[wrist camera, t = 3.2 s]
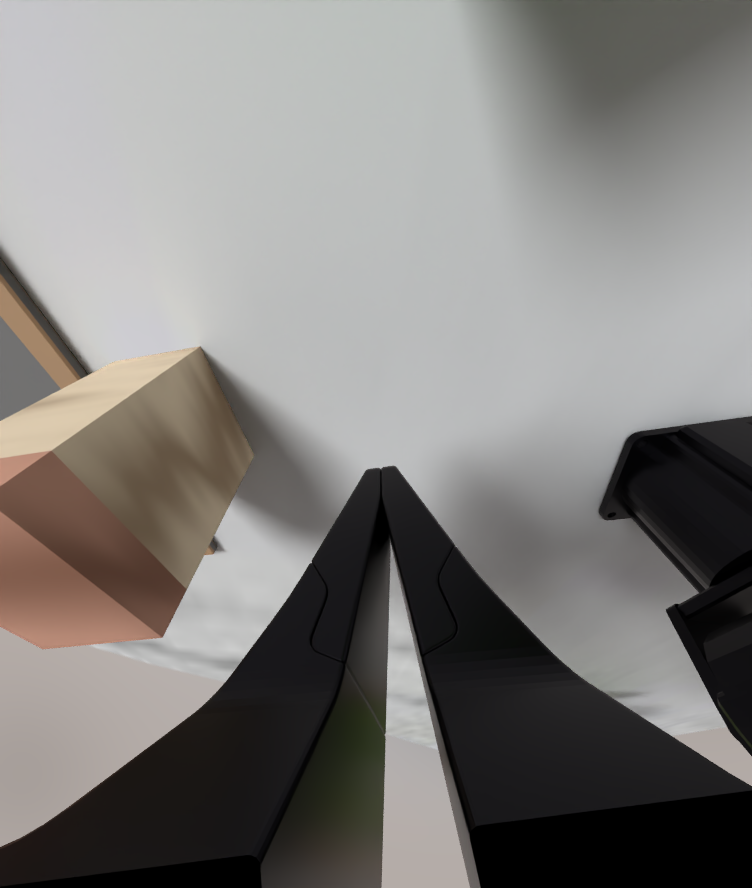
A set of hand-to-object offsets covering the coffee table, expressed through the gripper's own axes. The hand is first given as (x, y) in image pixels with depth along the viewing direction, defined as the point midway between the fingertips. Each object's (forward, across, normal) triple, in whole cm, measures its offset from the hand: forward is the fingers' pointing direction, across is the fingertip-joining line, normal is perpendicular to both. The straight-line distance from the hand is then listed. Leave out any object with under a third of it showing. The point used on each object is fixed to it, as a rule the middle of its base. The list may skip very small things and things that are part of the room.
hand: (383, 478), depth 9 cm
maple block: (+7, +9, 0) cm, 11 cm away
